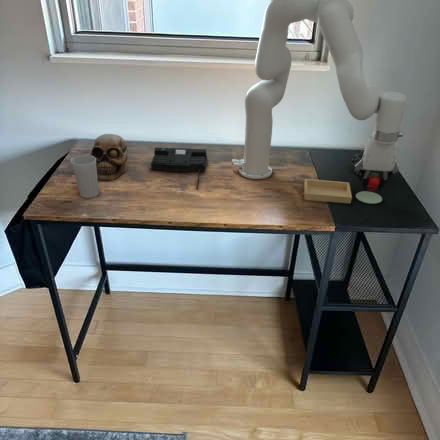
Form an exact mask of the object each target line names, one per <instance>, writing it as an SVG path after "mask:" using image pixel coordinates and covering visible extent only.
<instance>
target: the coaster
mask: <svg viewBox="0 0 440 440" xmlns="http://www.w3.org/2000/svg"><path fill="white" fill-rule="evenodd" d="M355 198H356V199H357V200H358V201H360V202H363V203H365V204H379V203H381V202H382V201H383V197H382V196H381V195H380V194H378V193H377V192H373V191H369V190H368V191H366V190H363V191H358V192H357V193H356V194H355Z"/></svg>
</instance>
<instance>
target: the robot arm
mask: <svg viewBox="0 0 440 440" xmlns="http://www.w3.org/2000/svg"><path fill="white" fill-rule="evenodd" d="M354 12H355V11H354V7H353V5H352V3H351V2H350V0H270V1H269V2H268V4H267V6H266V8H265V11H264V13H263V14H264V15H263V18H262V24H261V30H260V35H259V38H258V39H259V40H258V45H257V49H256V54H255V60H254V72H255V75H256V76H257V78H259V80H260V81H259V82H257V83H255V84H253V85H252V86H251V87H250V88H249V89H248V90H247V92H246V95H245V98H244V110H245V129H244V133H245V134H244V148H243V149H244V150H243V152H244V153H243V158H241V159H231V165H233V167H234V168H235V167H236V168H238V173H239V175H241V176H242V177H244V178H246V179H251V180H263V179H267V178H270V177H271V176H272V174H273V169H272V167H270V158H271V157H270V156H271V148H272V147H271V146H272V137H273V123H274V121H273V109H274V108H275V107H276V106H277V105H279V104H280V102H282V100H283V98H284V95H285V93H286V89H287V85H288V80H289V76H290V72H291V68H292V53H291V51H290V49H289V48H288V46H286V44H287V41H288V36H289V27H290V25H291V24H293V23H298V22H302V21H304V20H307V21H310V22H313V23H315V24H318V27H319V30H320V33H321V35H322V37H323V40H324V43H325V44H326V47H327V49H328V51H329V53H330V56H331V58H332V61H333V63H334V67H335V72H336V78H337V83H338V86H339V87H338V88H339V90H340V93H341V96H342V99H343V101H344V103H345V106H346V108H347V111H348V113H349V114H350V115H351V116H352V118H354V119H355V120H358V121H366V120H368V119H369V118H371V117H372V116H373V115H374V114H376V119H375V123H374V127H373V132H372V135H371V136H369V137H368V139H367V142H366V144H365V147H364V149H363V150H364V153H363V157H362V159H361V160H360V161H359V162H358V163H357V164H356V165H355V167H354V169H357V170H358V171H359V172H360V173H361V174H362V176H363V179H362V180H361V187H362V189H363V191H366V190H367V187H368V185H367V183H368V175H369V173H370V171H371V170H373V171H375V172H382V175H381V176H379V178H380V184H379V186H378V187H377V189H378V191H379V192H382V189H383V188H384V187H385V184H386V180H388V178H390V177H391V176H392V175H394V174H396V173H398V172H400V168H399V166H398V164H397V162H396V161H397V156H398V149H399V138H402V137H403V135H404V132H403V131H400V129H401V125H402V122H403V117H404V113H405V110H406V106H407V102H408V97H407V95H406V94H404V93H402V92H397V91H387V90H383V89H380V88H378V87H373V86H368V85H367V82H366V80H365V77H364V70H363V61H364V51H363V46H362V45H361V42H360V39H359V37H358V34H357V32H356V30H355V26H354V25H353V24H354V23H353V19H354V16H355V13H354ZM362 165H363V168H361V166H362ZM364 169H365V170H364Z"/></svg>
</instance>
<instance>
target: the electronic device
mask: <svg viewBox="0 0 440 440" xmlns="http://www.w3.org/2000/svg"><path fill="white" fill-rule="evenodd" d="M207 164H208V154H207V149H206V148H202V149H201V148H184V147H183V148H182V147H181V148H180V147H154V155H153V158H152V160H151V163H150V168H151V170H162V171H166V172H187V173H190V172H191V171H192V172H193V171H194V172H198V174H197V175H198V176H197V177H198V178H197V184H196V190H198V187H199V182H200V174H201V172H205V171H206V170H207Z"/></svg>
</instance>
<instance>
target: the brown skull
mask: <svg viewBox="0 0 440 440" xmlns="http://www.w3.org/2000/svg"><path fill="white" fill-rule="evenodd" d="M89 155H90V156H94V157H95V158H96V167H97V180H99V181H105V182H107V181H113V180H115V179H117V178H119V177H121V176H122V175H123V174H125V172H126V163H127V162H128V156H129V155H128V145H127V143H126V140H125V139H124V138H123V137H122V136H120V135H119V134H114V133H104V134H101V135H99V136H97V137H96V138H95V140H94V143H93V146H92V148H91V151H90V154H89Z"/></svg>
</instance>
